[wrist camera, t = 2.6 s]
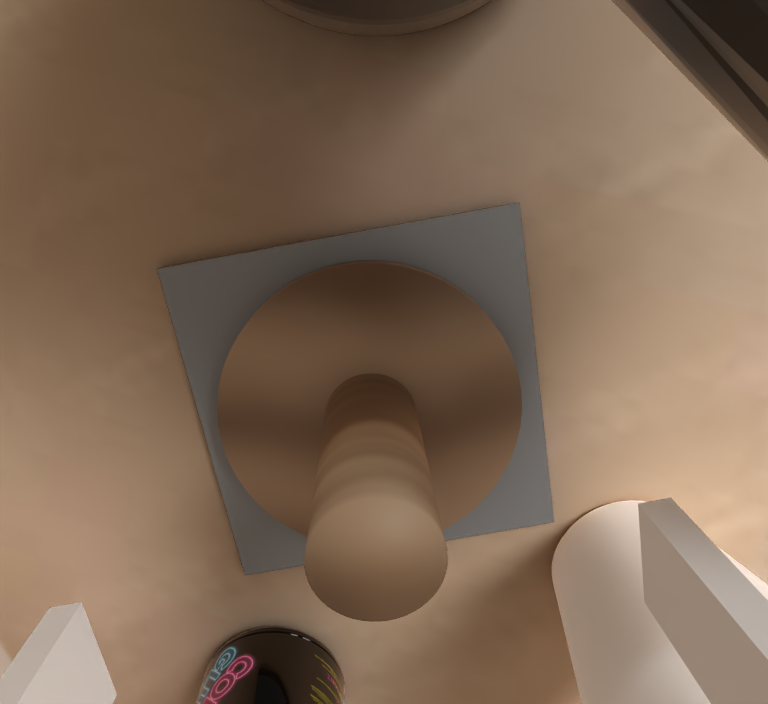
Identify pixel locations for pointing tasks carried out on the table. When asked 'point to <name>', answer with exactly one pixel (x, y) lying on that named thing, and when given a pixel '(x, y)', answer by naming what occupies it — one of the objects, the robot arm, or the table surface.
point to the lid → (370, 425)
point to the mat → (391, 243)
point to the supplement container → (272, 670)
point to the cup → (618, 614)
